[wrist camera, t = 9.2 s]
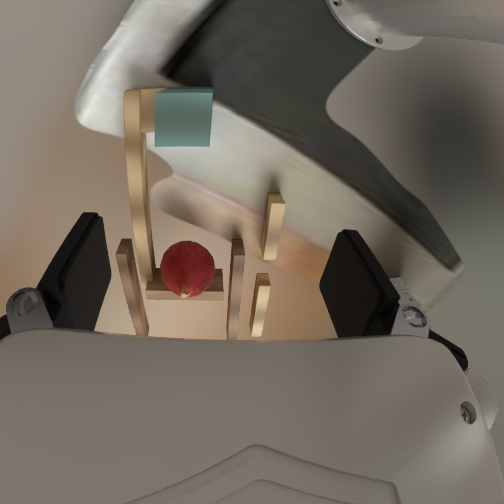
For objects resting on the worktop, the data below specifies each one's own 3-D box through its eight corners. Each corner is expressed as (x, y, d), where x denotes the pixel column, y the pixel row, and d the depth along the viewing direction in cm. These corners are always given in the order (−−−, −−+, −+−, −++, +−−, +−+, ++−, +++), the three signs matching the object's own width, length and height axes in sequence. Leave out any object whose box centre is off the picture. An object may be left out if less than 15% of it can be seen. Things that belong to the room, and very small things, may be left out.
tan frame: (131, 89, 22) (105, 97, 16) (234, 87, 23) (240, 94, 18) (146, 276, 35) (137, 318, 29) (221, 277, 36) (224, 320, 31)
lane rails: (121, 238, 32) (115, 254, 29) (242, 239, 34) (245, 255, 31) (141, 327, 41) (139, 342, 38) (234, 328, 43) (236, 344, 41)
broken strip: (267, 193, 31) (271, 203, 29) (280, 193, 31) (285, 204, 29) (249, 324, 43) (251, 336, 41) (258, 323, 43) (260, 336, 41)
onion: (221, 235, 33) (224, 282, 27) (204, 273, 36) (205, 321, 29) (171, 221, 31) (162, 266, 25) (159, 261, 34) (150, 309, 28)
